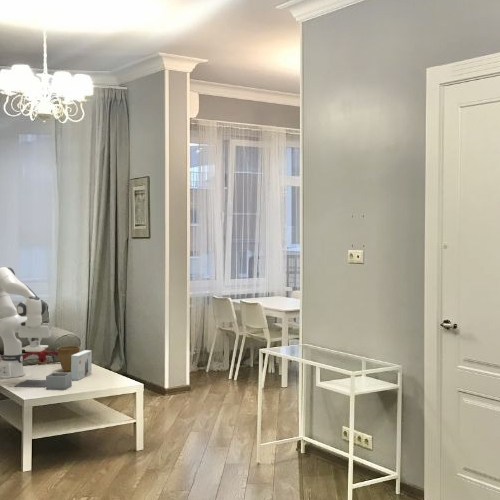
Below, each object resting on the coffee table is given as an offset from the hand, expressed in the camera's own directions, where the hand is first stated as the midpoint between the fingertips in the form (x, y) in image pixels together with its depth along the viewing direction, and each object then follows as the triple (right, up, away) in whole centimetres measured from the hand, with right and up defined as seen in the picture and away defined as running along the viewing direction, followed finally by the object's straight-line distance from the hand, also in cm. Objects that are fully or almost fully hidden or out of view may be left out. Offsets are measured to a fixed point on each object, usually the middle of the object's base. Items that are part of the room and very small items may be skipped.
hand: (35, 344), depth 439 cm
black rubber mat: (0, -24, +1) cm, 24 cm away
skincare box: (+24, -24, +21) cm, 40 cm away
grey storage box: (+18, -25, -11) cm, 32 cm away
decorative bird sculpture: (-15, -23, +66) cm, 72 cm away
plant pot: (+11, -23, +41) cm, 48 cm away
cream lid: (0, -3, 0) cm, 3 cm away
